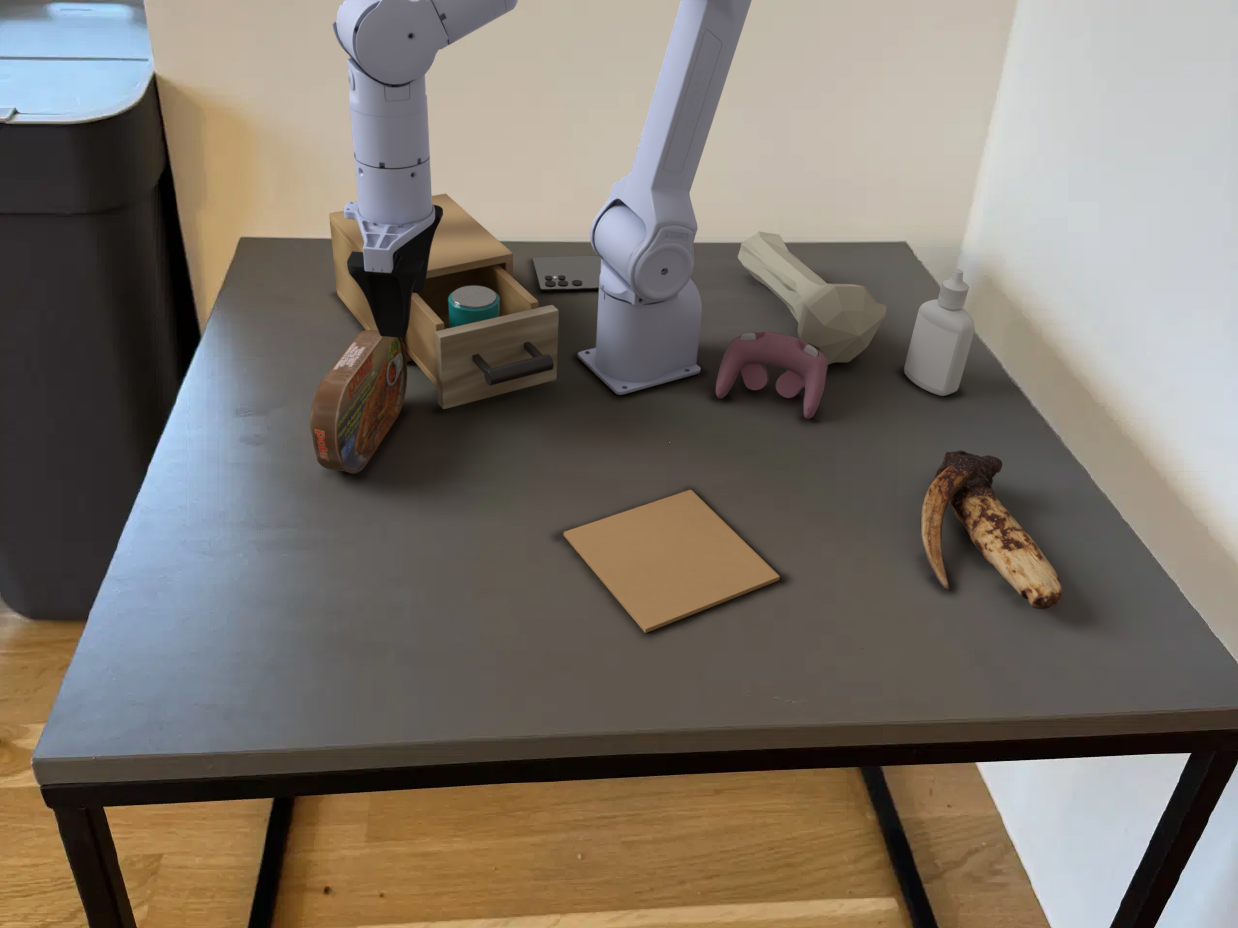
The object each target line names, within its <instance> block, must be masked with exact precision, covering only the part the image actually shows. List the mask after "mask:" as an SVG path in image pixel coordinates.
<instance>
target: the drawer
mask: <svg viewBox="0 0 1238 928" xmlns="http://www.w3.org/2000/svg"><path fill="white" fill-rule="evenodd" d="M465 286H483V287H487V288H489V289H491V290H493V291H494V292H496V293H497V294H498V296H499V298H500V317H496V318H492V319H487V320H483V321H479V322H474V323H470V324H466V325H461V326H457V327H452V328H449V305H448V298H449V295H450V294H451V293H452V292H454V291H455V290H457V289H459V288H461V287H465ZM559 311H560V310H559V309H558V308H557V307H555V305H554V304H550V305H545V306H540V307H539V301H538V299H537V298H535V297H534V296H533V295H532V294H531V293H530V292H529V291H528V290H527V289H526V288H525V287H523V286H522V285H521V284H520V282H518V281H517V280H516V279H515V278H514V277H513V278H512V277H511V276H510V275H509V274H508V273H507V272H506V271H505V270H504V269H503V268H502V267H501V266H500V265H498V264H495V265H490V266H485V267H480V268H476V269H471V270H466V271H461V272H456V273H451V274H446V275H441V276H436V277H432V278H427V279H426V282H425V286H424V289H423V292H422V293H412V299H411V309H410V319H409V326H408V330H407V333H406V336H405V337H404V338H402V340H403V343H404V346H405V350H406V352H407V353H408V354H409V355H410V356H411V358H412V359H413V362H414V363H415V364H416V365H417V366H418V367H419V369H420V370H421V371H422V372H423V374H424V375H425V376H426V377H427V378H428V379H429V381H430V382H431V383H432V385H434V387H435V388H436V389H437V403H438V405H439V406H440V407H441V409H442V410H447V409H449V408H455V407H458V406H461V405H465V404H469V403H473V402H477V401H480V400H484V399H489V398H493V397H495V396H499V395H504V394H507V393H511V392H514V391H515V392H516V391H519V390H522V389H525V388H526V389H527V388H530V387H534V386H538V385H541V384H544V383H545V384H546V383H549V382H553V381H557V376H558V374H557V373H558V345H559V343H558V341H559V340H558V339H559Z"/></svg>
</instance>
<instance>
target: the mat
mask: <svg viewBox="0 0 1238 928" xmlns="http://www.w3.org/2000/svg"><path fill="white" fill-rule="evenodd" d="M563 537H564V538H565V539H566V540H567V541H568V543H569V544H570V545H571V546H572V547H573V549H574V550H575V551H576V552H577V553H578V554H579V556H580V557H581V558H582V559H583V561H584V562H585V563H586V564H587V566H589V568H590V569H591V570H592V571H593V572H594V574H595V575H596V576H597V577H598V579H599V580H600V581H601V582H602V583H603V584H604V586H605V587H606V588H607V589H608V591H609V592H610V593H611V594H612V595H613V596H614V598H615V599H616V600H617V601H618V602H619V604H620V605H621V606H622V607H623V608H624V610H625V611H626V612H627V613H628V614H629V616H630V617H631V618H632V619H633V620H634V622H635V623H636V624H637V625H638V626H639V628H640V629H641V630H642V631H643V633H645V634H647V633H649V632H652V631H654V630H657V629H660V628H662V627H665V626H667V625H670V624H673V623H675V622H677V621H680V620H682V619H685V618H687V617H690V616H692V615H695V614H697V613H701V612H702V611H704V610H707V609H710V608H713V607H715V606H717V605H720V604H722V603H726V602H728V601H730V600H733V599H735V598H738V597H741V596H743V595H746V594H748V593H750V592H753V591H756V590H758V589H760V588H763V587H765V586H768V585H771V584H774V583H776V582H778V581H780V578H781V576H780V575H779V574H778V573H777V572H776V571H775V570H774V568H772V567H771V566H770V565H769V564H768V563H767V562H766V561H765V560H764V559H763V558H762V557H761V556H759V554H758V553H757V552H755V550H754V549H753V548H752V547H751V546H749V545H748V543H746V542H745V540H743V538H741V536H739V535H738V534H737V533H736V531H734V530H733V529H732V528H731V527H730V526H729V525H728V524H727V523H726V522H725V521H724V520H723V519H722V518H721V517H720V516H719V515H718V514H717V513H716V512H715V511H714V510H713V509H712V508H711V507H710V506H709V505H708V504H706V502H705V501H704V500H702V499H701V498H700V497H699V495H697V494H696V493H695V492H694V491H693V490H692V489H688V490H685V491H682V492H679V493H676V494H673V495H670V496H667V497H663V498H661V499H658V500H655V501H652V502H650V503H646V504H644V505H643V504H642V505H640V506H637V507H634V508H631V509H629V510H626V511H622V512H619V513H616V514H613V515H610V516H607V517H604V518H601V519H598V520H595V521H593V522H589V523H586V524H583V525H581V526H577V527H574V528H572V529H569V530H565V531H563Z"/></svg>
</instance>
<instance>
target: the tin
mask: <svg viewBox="0 0 1238 928" xmlns="http://www.w3.org/2000/svg"><path fill="white" fill-rule="evenodd" d="M407 383H408V362H407V357H406V350H405V346H404V343H403V340H402V338H399V337H384V336H380V334H379V332H378V330H365V329H364V330H362V331H360V332H359V333H358V334H357V335H356V336H355V337H354V338H353V339H352V340H351V342H350V343H349V344H348V346H347V347H346V348H345V350H344V351H343V352H342V353H341V355H340V356H339V357H338V358H337V360H336V361H335V362H334V364H333V365H332V366H331V368H330V369H329V370H328V372H327V373H326V374H325V375H324V376H323V378H321V380H320V382H319V384H318V386H317V388H316V390H315V393H314V396H313V398H312V403H311V407H310V415H309V430H310V434H311V438H312V439H311V440H312V443H313V444H312V445H313V450H314V453H315V457H316V461H317V463H318V464H319V465H320V466H321V467H322V468H325V469H327V470H332V471H339V472H347V473H349V474H358V473H360V472H361V471H363V470H364V469H365V468H366V466H367V465H368V463H369V462H370V460H371V459H372V457H373V455H375V452H377V449H378V448H379V446H380V445H381V443H382V442H383V441H384V438H385V437H386V436H387V434H388V433H389V431H390V429H391V428H392V426H393V425H394V423H395V422H396V420H397V419H398V417H399V415H400V413H401V410H402V407H403V406H404V401H405V397H406V393H407Z"/></svg>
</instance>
